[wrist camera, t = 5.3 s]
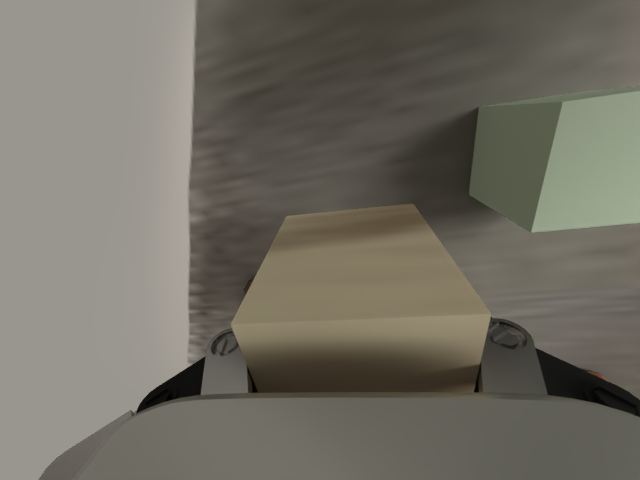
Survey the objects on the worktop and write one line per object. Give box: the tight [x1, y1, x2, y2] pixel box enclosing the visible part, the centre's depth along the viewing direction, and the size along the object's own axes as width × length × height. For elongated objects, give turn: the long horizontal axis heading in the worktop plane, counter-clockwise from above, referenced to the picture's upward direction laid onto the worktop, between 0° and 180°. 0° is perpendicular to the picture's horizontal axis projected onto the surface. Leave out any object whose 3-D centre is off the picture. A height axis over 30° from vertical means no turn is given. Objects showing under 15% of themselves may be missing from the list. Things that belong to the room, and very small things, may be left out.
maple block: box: [231, 203, 491, 393], centre depth 10 cm, size 6×6×7 cm
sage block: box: [469, 86, 640, 233], centre depth 15 cm, size 6×6×7 cm
